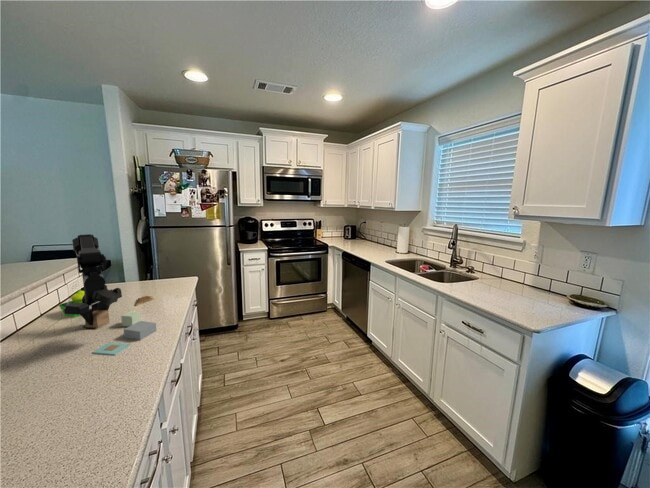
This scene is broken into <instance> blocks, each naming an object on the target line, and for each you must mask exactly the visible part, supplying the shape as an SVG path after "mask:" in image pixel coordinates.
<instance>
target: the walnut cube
mask: <svg viewBox="0 0 650 488" xmlns="http://www.w3.org/2000/svg"><path fill="white" fill-rule="evenodd" d="M109 313H110V312H109V309H108V310H95V311H93V325H89V324H88V323H87V322H86V320H85V319H84V322H86V324H85V325H86V327H92V328H97V329H99V328H101V327H103V326H105V325H107V324H108V323H110V315H109Z"/></svg>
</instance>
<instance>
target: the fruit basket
mask: <svg viewBox="0 0 650 488" xmlns="http://www.w3.org/2000/svg"><path fill="white" fill-rule="evenodd" d="M83 296H84V291H81V289H79V290H77V291H76V293H74V294H72V295H71V297H70V299H71V300H69V301H68V302H63V303H60V304H58V307H59V308H60V309H61V311H62V313H63V314H64V315H65V316H69V317H72V318H77V317H79V316H80V317H82V316H81V315H80V314H79V315H75V314H65V312H64V308H65V307H66V306H68V305H70V304H73V303H82V298H83Z"/></svg>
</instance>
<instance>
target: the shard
mask: <svg viewBox="0 0 650 488" xmlns="http://www.w3.org/2000/svg"><path fill="white" fill-rule="evenodd" d="M152 300H155V297H153V296H150V295H144V296H140V297H138V298H137V300H136V303H135V305H136V306H139V305H142V304H145V303H147V302H150V301H152Z"/></svg>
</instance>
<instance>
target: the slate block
mask: <svg viewBox="0 0 650 488" xmlns="http://www.w3.org/2000/svg"><path fill="white" fill-rule="evenodd" d="M157 331H158V329H157V322H151V321H145V320H144V321H143V320H141V321H139V322H137V323H135V324H133V325H131V326H126V327H125V328H123V335H124V339H131V340H137V341H142V340H143V339H146V338H147V337H149V336H150V335H152V334H154V333H156V332H157Z"/></svg>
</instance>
